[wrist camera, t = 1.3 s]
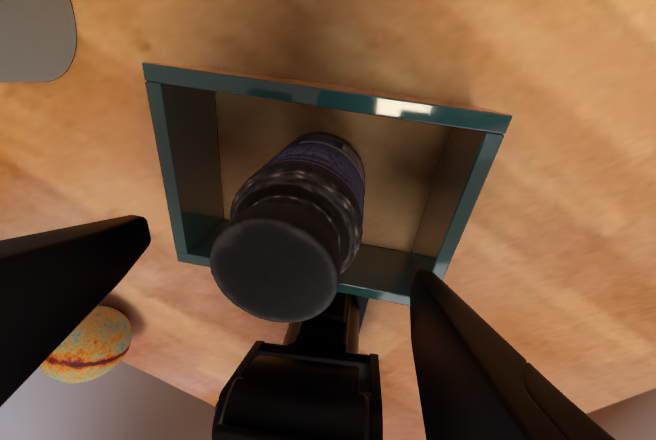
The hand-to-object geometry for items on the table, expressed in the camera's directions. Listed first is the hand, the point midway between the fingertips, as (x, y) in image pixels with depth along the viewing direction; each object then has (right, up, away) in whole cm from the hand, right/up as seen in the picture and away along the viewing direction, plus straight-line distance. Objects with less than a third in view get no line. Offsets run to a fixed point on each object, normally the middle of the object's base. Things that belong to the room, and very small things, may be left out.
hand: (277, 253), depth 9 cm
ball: (-22, -10, +21) cm, 32 cm away
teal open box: (+1, +4, +10) cm, 11 cm away
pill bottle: (+1, +4, +11) cm, 11 cm away
